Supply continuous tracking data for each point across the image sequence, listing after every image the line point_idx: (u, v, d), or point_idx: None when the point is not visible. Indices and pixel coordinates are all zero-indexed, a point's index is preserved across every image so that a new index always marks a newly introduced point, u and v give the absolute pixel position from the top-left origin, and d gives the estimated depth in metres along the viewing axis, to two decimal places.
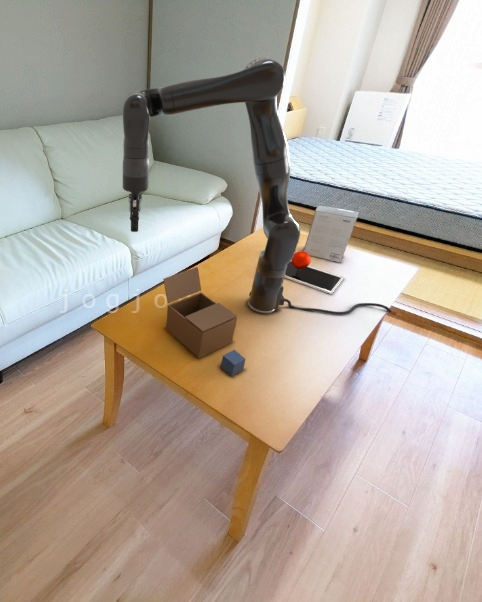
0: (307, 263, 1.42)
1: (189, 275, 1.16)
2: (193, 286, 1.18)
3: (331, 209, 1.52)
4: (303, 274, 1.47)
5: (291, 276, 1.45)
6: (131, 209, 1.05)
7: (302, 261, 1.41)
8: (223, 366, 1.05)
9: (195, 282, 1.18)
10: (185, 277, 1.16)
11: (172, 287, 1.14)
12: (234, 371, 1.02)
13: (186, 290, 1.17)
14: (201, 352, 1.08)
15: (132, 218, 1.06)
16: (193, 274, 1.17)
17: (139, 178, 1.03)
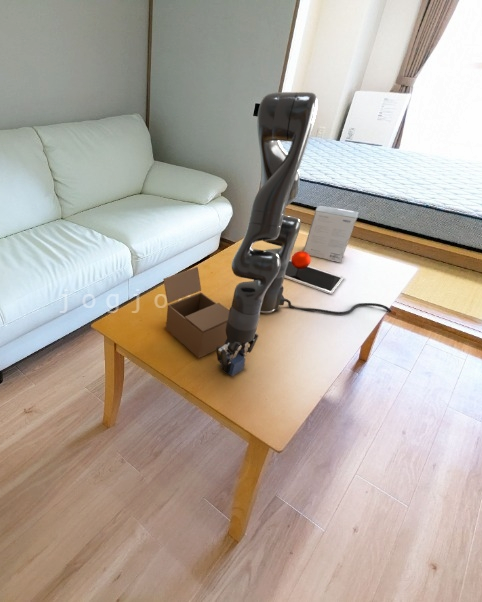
0: (307, 263, 1.42)
1: (189, 275, 1.16)
2: (193, 286, 1.18)
3: (331, 209, 1.52)
4: (303, 274, 1.47)
5: (291, 276, 1.45)
6: (217, 354, 0.99)
7: (302, 261, 1.41)
8: None
9: (195, 282, 1.18)
10: (185, 277, 1.16)
11: (172, 287, 1.14)
12: (234, 371, 1.02)
13: (186, 290, 1.17)
14: (201, 352, 1.08)
15: (219, 360, 1.00)
16: (193, 274, 1.17)
17: (235, 329, 0.94)
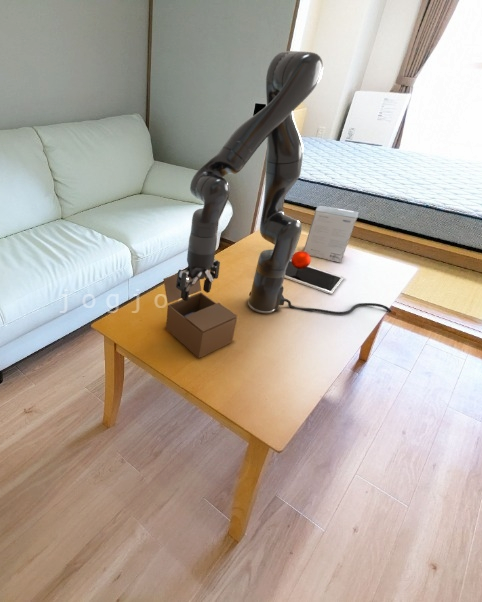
0: (307, 263, 1.42)
1: None
2: (193, 286, 1.18)
3: (331, 209, 1.51)
4: (303, 274, 1.47)
5: (291, 276, 1.45)
6: (177, 278, 1.05)
7: (302, 261, 1.41)
8: None
9: None
10: None
11: (172, 287, 1.14)
12: None
13: None
14: (201, 352, 1.08)
15: (177, 286, 1.06)
16: None
17: (194, 254, 1.01)
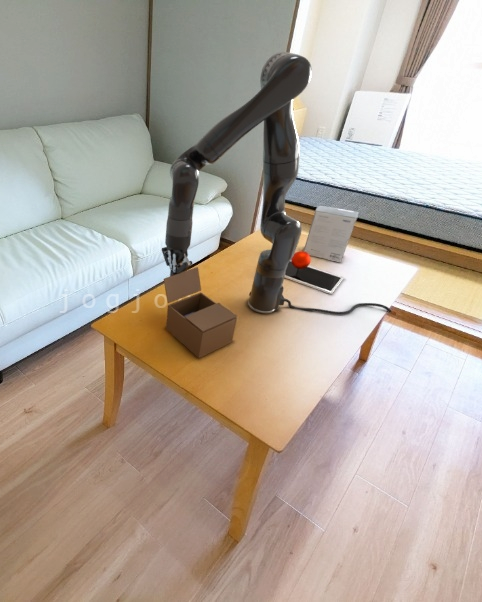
0: (307, 263, 1.42)
1: (189, 275, 1.16)
2: (193, 286, 1.18)
3: (331, 209, 1.52)
4: (303, 274, 1.47)
5: (291, 276, 1.45)
6: None
7: (302, 261, 1.41)
8: None
9: (195, 282, 1.18)
10: (185, 277, 1.16)
11: (172, 287, 1.14)
12: None
13: (186, 290, 1.17)
14: (201, 352, 1.08)
15: None
16: (193, 274, 1.17)
17: None
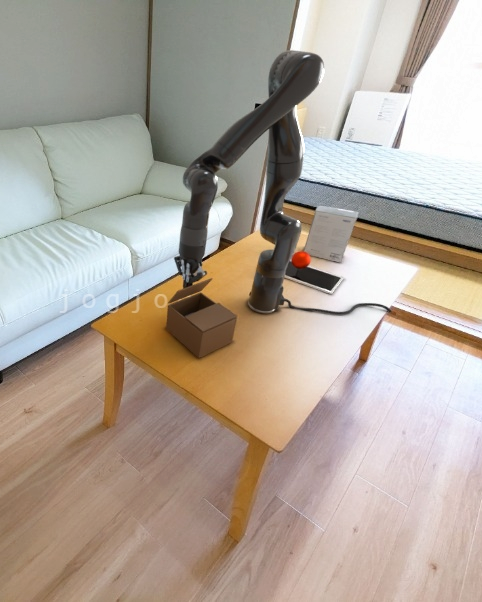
0: (307, 263, 1.42)
1: (201, 285, 1.13)
2: (197, 290, 1.17)
3: (331, 209, 1.52)
4: (303, 274, 1.47)
5: (291, 276, 1.45)
6: None
7: (302, 261, 1.41)
8: None
9: (201, 287, 1.16)
10: (196, 286, 1.12)
11: (180, 294, 1.11)
12: None
13: (189, 293, 1.16)
14: (201, 352, 1.08)
15: None
16: (204, 283, 1.14)
17: None
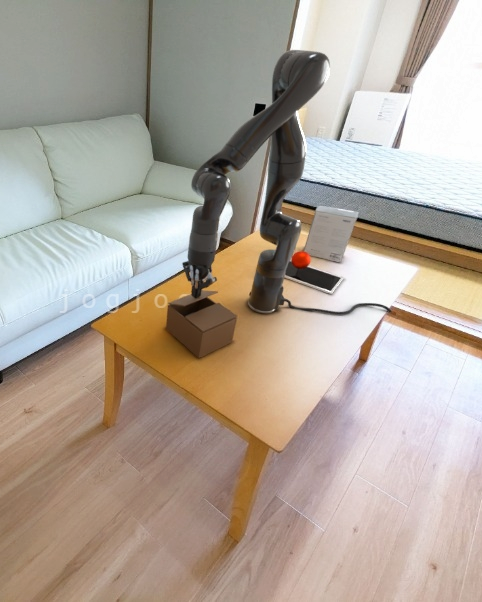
0: (307, 263, 1.42)
1: None
2: None
3: (331, 209, 1.52)
4: (303, 274, 1.47)
5: (291, 276, 1.45)
6: None
7: (302, 261, 1.41)
8: None
9: None
10: None
11: None
12: None
13: None
14: (201, 352, 1.08)
15: None
16: None
17: None
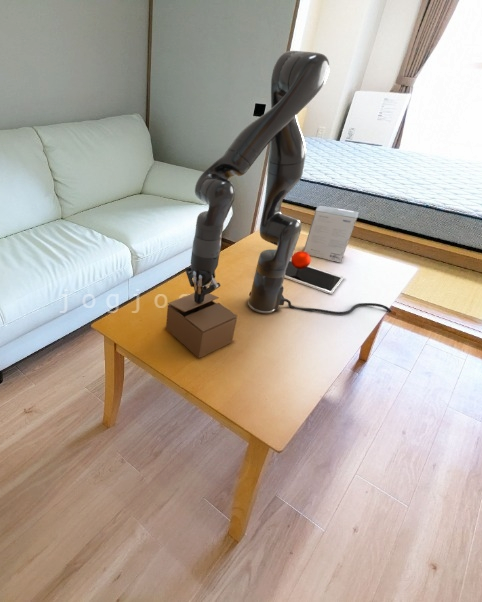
0: (307, 263, 1.42)
1: None
2: None
3: (331, 209, 1.51)
4: (303, 274, 1.47)
5: (291, 276, 1.45)
6: None
7: (302, 261, 1.41)
8: None
9: None
10: None
11: None
12: None
13: None
14: (201, 352, 1.08)
15: None
16: None
17: None
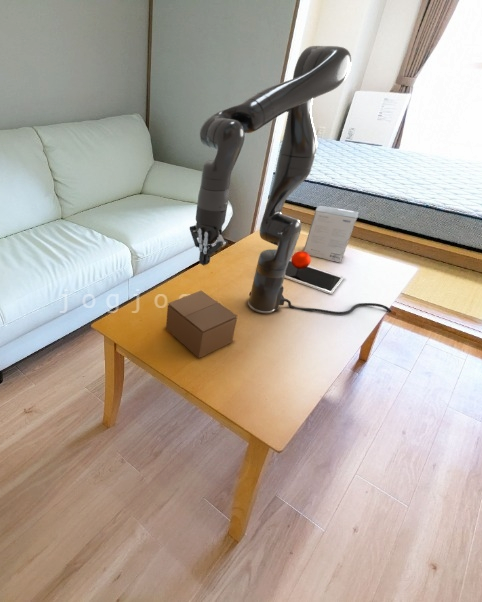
0: (307, 263, 1.42)
1: None
2: None
3: (331, 209, 1.52)
4: (303, 274, 1.47)
5: (291, 276, 1.45)
6: None
7: (302, 261, 1.41)
8: None
9: None
10: None
11: None
12: None
13: None
14: (201, 352, 1.08)
15: None
16: None
17: None
